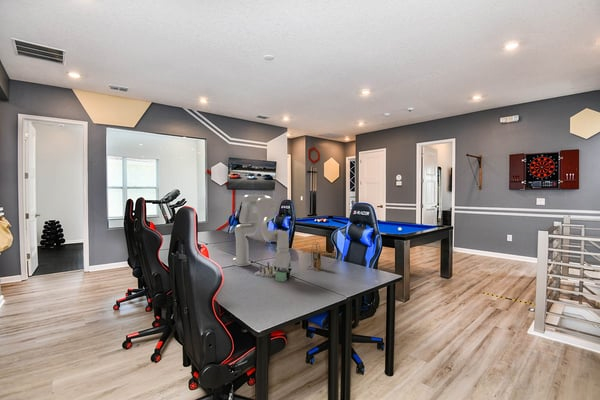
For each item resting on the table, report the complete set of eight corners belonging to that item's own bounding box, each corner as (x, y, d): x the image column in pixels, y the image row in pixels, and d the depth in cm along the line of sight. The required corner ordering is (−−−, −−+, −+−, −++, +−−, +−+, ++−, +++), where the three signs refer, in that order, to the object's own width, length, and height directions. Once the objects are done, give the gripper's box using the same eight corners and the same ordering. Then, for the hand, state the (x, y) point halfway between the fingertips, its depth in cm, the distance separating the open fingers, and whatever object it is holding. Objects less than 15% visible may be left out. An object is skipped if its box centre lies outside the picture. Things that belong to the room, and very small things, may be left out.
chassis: (271, 277, 193) (271, 268, 193) (254, 274, 199) (254, 266, 199) (284, 270, 209) (284, 262, 209) (268, 268, 215) (268, 260, 215)
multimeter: (302, 267, 216) (301, 241, 216) (313, 266, 221) (313, 240, 220) (311, 272, 203) (310, 244, 202) (323, 271, 207) (323, 243, 207)
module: (284, 281, 184) (284, 272, 183) (275, 280, 185) (275, 271, 185) (290, 276, 195) (290, 267, 195) (282, 275, 197) (282, 266, 197)
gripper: (268, 250, 190) (269, 277, 191) (292, 252, 183) (292, 280, 183) (274, 248, 197) (274, 274, 197) (297, 250, 189) (297, 277, 190)
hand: (283, 276), depth 190 cm, fingers closed on module, 6 cm apart
